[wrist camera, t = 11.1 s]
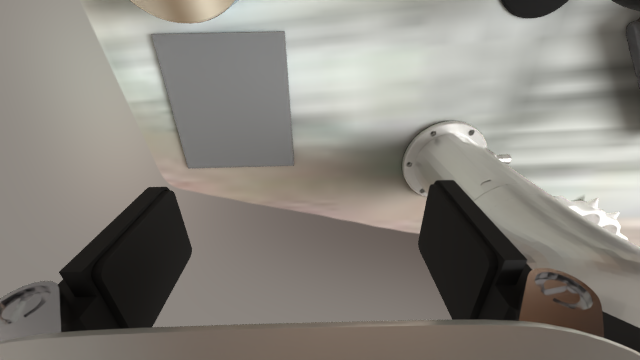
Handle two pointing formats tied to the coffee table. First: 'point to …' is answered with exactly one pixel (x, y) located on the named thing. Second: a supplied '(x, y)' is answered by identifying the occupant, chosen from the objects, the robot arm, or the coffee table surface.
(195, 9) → the lid
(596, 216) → the white brass knuckles
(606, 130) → the coffee table surface
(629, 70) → the coffee table surface
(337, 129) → the coffee table surface
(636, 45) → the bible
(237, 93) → the mat
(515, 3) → the wine glass
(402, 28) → the coffee table surface
